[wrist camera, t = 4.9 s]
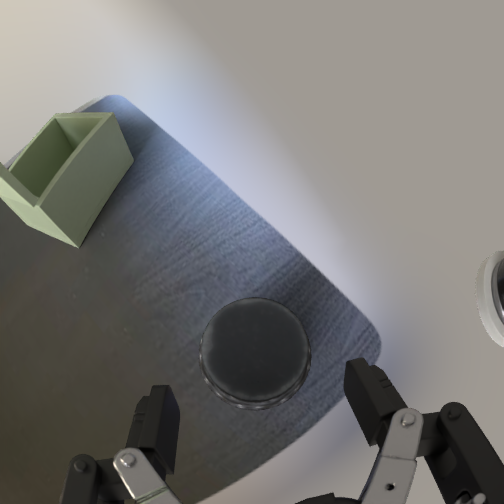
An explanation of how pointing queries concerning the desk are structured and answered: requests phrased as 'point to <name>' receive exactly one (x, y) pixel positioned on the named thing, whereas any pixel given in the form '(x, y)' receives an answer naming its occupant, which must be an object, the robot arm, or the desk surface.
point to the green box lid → (15, 188)
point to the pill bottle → (254, 354)
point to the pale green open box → (70, 173)
